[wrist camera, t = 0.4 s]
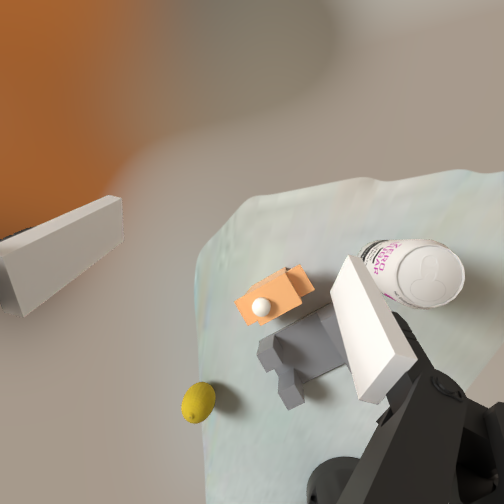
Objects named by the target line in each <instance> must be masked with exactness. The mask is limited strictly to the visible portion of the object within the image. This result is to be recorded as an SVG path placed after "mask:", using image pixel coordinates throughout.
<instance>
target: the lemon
mask: <svg viewBox="0 0 504 504" xmlns="http://www.w3.org/2000/svg"><path fill="white" fill-rule="evenodd" d="M215 399H216V398H215V392H214V389H213V388H212V386H211V385H209V384H208V383H205V382H199V383H196V384H194V385H193V386H191V387H190V388H189V389H188V391H187V392H186V394H185V395H184V398H183V401H182V408H181V410H182V414H183V417H184V418H185V419H186V420H187V421H188V422H190V423H200V422H202V421H204V420H205V419H206V418H207V417H208V416H209V415H210V413H211V412H212V410H213V408H214V405H215Z"/></svg>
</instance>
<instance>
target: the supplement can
mask: <svg viewBox="0 0 504 504" xmlns="http://www.w3.org/2000/svg"><path fill="white" fill-rule="evenodd" d="M356 257H360V258H362V260H363V262H364V264H365V265H366V267H367V269H368V271H369V273H370V274H371V276H372V278H373V280H374V282H375V283H376V285H377V287H378V289H379V291H380V292H381V293H382V294H384V295H386V296H388V297H390V298H392V299H393V300H395V301H397V302H399V303H401V304H403V305H406V306H408V307H411V308H413V309H430V308H434V307H438V306H442V305H446V304H447V303H449V302H450V301H452V300H453V299H455V298H456V297H457V295H458V294H459V293H460V291H461V290H462V288H463V285H464V281H465V271H464V266H463V264H462V263H461V261H460V259H459V257H458V256H457V255H456V254H454V253H453V252H452V251H451V250H450V249H449V248H448V247H446V246H445V245H444V244H441V243H439V242H436V241H434V240H426V239H408V240H377V241H374V242H370V243H368V244H367V245H365V246H364V247H362V248H361V250H360V251H359V253H358V254H357V256H356Z"/></svg>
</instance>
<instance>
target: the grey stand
mask: <svg viewBox="0 0 504 504" xmlns="http://www.w3.org/2000/svg"><path fill="white" fill-rule="evenodd" d="M259 343H260V344H259V347H258V351H257V357H258V359H259V360H260V362H261V364H262V366H263V367H264V369H265V371H266V373H267V372H269V371H271V370H273V369H275V371H276V373H277V375H278V376H279V383H278V394H279V395H280V397H281V399H282V401H283V402H284V404H285V406H286V408H287V409H288V410H290V409H292V408H294V407H297V406H299V405H301V404H303V403H305V400H304V391H303V383H305V382H307V381H309V380H311V379H313V378H315V377H317V376H319V375H321V374H324V373H326V372H328V371H330V370H332V369H334V368H336V367H338V366H340V365H342V364H344V363H345V364H346V365H347V367H348V369H349V370H350V372H351V369H350V365H349V361H348V357H347V354H346V350H345V346H344V342H343V339H342V335H341V331H340V327H339V324H338V320H337V316H336V312H335V309H334V305H333V303H330V304H328V305H326V306H324V307H322V308H321V309H319V310H317V311H315V312H313V313H311V314H309V315H307V316H305V317H304V318H302V319H300V320H298V321H296V322H294V323H292V324H290V325H288V326H287V327H285V328H283V329H281V330H279V331H277V332H275V333H273V334H271V335H269V336H268V337H266V338H264V339H262V340H260V341H259ZM351 374H352V372H351Z"/></svg>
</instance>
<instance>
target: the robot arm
mask: <svg viewBox="0 0 504 504" xmlns="http://www.w3.org/2000/svg"><path fill="white" fill-rule="evenodd" d="M123 241H124V228H123V212H122V199H121V198H118V197H115V196H111V195H107V196H105V197H103V198H101V199H98V200H96V201H94V202H91V203H89V204H87V205H84V206H82V207H80V208H77V209H75V210H73V211H71V212H68V213H66V214H64V215H62V216H59V217H57V218H55V219H52V220H50V221H48V222H45V223H43V224H41V225H38V226H35V227H30V228H26V229H24V230H21V231H19V232H17V233H14V234H13V235H9V236H7V237H5V238H3V240H2V239H0V304H1V307H2V309H3V311H4V313H7V314H11V315H15V316H19V317H25V316H26V315H28V314H29V313H30V312H32V311H33V310H34V309H36V308H37V307H38V306H40V305H41V304H42V303H43V302H45V301H46V300H47V299H49V298H50V297H51V296H53V295H54V294H55V293H57V292H58V291H59V290H60V289H62V288H63V287H64V286H66V285H67V284H68V283H70V282H71V281H72V280H73V279H75V278H76V277H77V276H79V275H80V274H81V273H83V272H84V271H85V270H87V269H88V268H89V267H91V266H92V265H93V264H95V263H96V262H97V261H98V260H100V259H101V258H102V257H104V256H105V255H106V254H107V253H109V252H110V251H111V250H112V249H114V248H115V247H117V246H118V245H119V244H120V243H122V242H123ZM330 294H331V297H332V301H333V305H334V309H335V312H336V316H337V320H338V324H339V327H340V331H341V335H342V339H343V342H344V346H345V350H346V354H347V357H348V361H349V365H350V369H351V372H352V376H353V380H354V384H355V387H356V391H357V395H358V399H359V400H361V401H365V402H369V403H373V404H379V403H380V402H381V401H382V400H383V399H384V398H385V396H387V399H388V402H389V404H390V407H389V408H388V409H387V410H386V411H385V412H384V413H383V415H382V416H381V417H380V418H379V419H378V420H377V421H376V422H377V423H378V424H379V425H378V426H377V428H376V430H375V432H374V434H373V436H372V438H371V440H370V441H369V443H368V445H367V447H366V449H365V451H364V453H363V455H362V456H361V458H360V459H357V458H352V457H338V458H333V459H330V460H327V461H325V462H323V463H322V464H320V465H319V466H318V467H317V468H316V469H315V470H314V471H313V473H312V474H311V476H310V478H309V481H308V484H307V504H504V403H502V402H498V403H496V404H495V405H493V406H492V407H491V408H489V409H488V408H486V407H484V406H482V405H480V404H478V403H476V402H474V401H472V400H470V399H468V398H467V397H466V395H465V393H464V392H463V390H462V389H461V387H460V386H459V385H458V384H457V383H456V382H455V381H454V380H453V379H451V378H450V377H449V376H448V375H446V374H444V373H442V372H441V371H439V370H436V369H434V367H433V365H432V364H431V362H430V360H429V359H428V357H427V355H426V354H425V352H424V350H423V349H422V347H421V345H420V344H419V342H418V341H417V339H416V337H415V336H414V334H413V333H412V331H411V329H410V327H409V326H408V324H407V322H406V321H405V320H404V319H403V318H402V317H401V316H400V315H399V314H398V313H396V312H392V311H391V310H390V309H389V307H388V305H387V303H386V301H385V300H384V298H383V296H382V294H381V292H380V291H379V289H378V287H377V285H376V283H375V282H374V280H373V278H372V276H371V274H370V273H369V271H368V269H367V267H366V265H365V264H364V262H363V260H362V258H360V257H356V256H352V255H348V256H347V258H346V260H345V262H344V264H343V266H342V268H341V270H340V272H339V274H338V276H337V278H336V280H335V283H334V285H333V287H332V289H331V291H330Z"/></svg>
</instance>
